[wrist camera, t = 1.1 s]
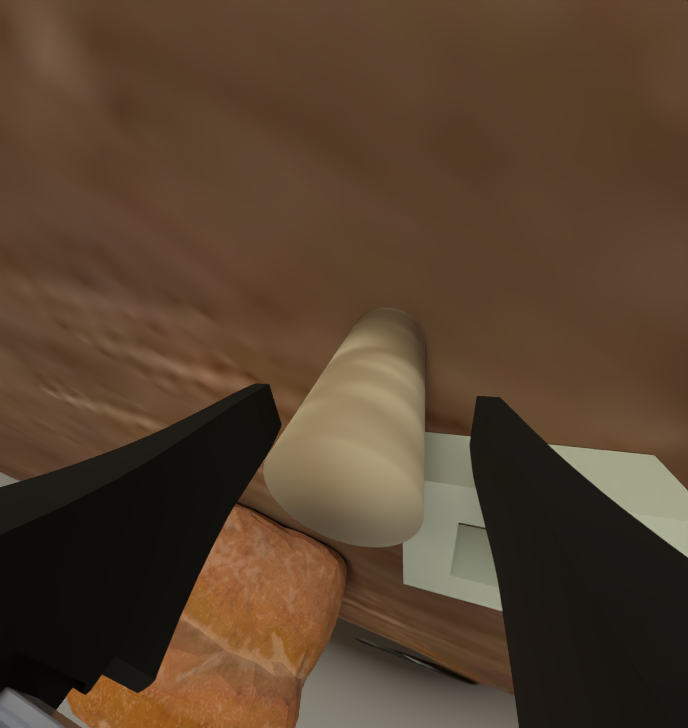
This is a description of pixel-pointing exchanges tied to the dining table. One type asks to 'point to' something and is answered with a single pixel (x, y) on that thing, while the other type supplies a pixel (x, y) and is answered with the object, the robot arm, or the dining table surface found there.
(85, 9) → the dining table surface
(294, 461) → the peg
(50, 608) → the robot arm
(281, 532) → the bread
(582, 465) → the socket block
